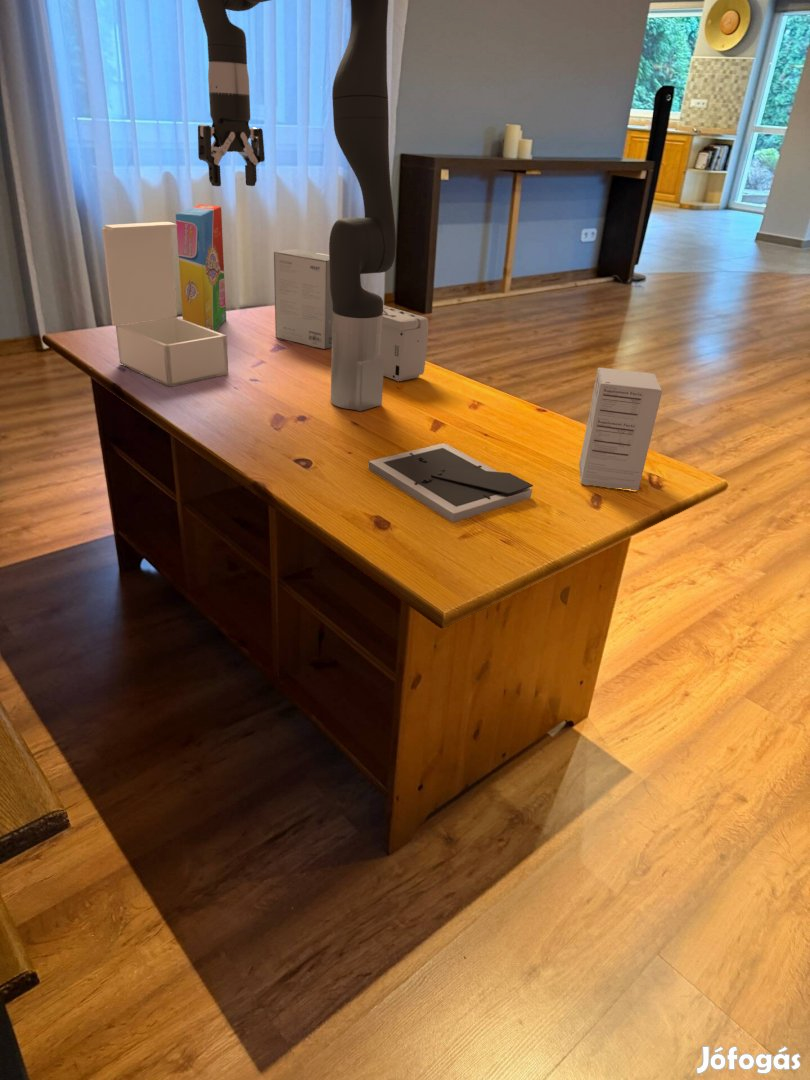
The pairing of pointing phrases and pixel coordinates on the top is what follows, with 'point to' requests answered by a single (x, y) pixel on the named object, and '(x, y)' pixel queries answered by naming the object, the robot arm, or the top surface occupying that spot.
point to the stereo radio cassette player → (403, 344)
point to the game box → (201, 265)
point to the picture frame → (451, 481)
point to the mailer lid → (140, 271)
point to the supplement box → (619, 428)
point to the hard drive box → (303, 297)
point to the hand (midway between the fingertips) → (233, 185)
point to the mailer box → (172, 350)
